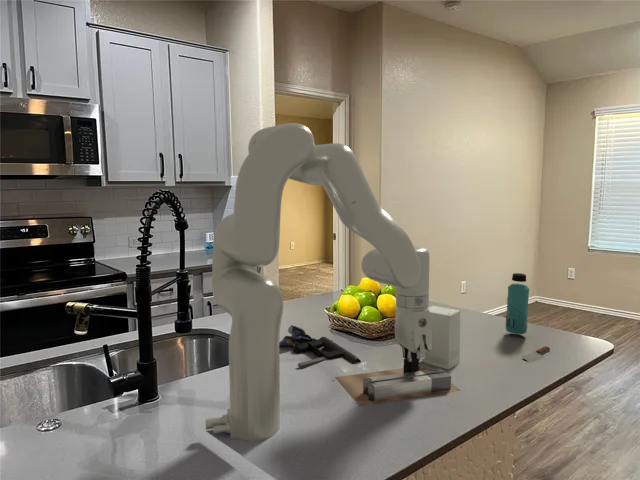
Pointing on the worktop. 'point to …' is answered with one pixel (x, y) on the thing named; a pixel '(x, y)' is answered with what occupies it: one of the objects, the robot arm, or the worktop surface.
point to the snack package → (295, 337)
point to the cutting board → (355, 382)
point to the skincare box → (444, 338)
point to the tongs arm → (398, 377)
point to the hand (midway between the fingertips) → (411, 375)
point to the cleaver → (536, 354)
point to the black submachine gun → (316, 348)
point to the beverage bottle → (517, 305)
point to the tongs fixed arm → (409, 386)
